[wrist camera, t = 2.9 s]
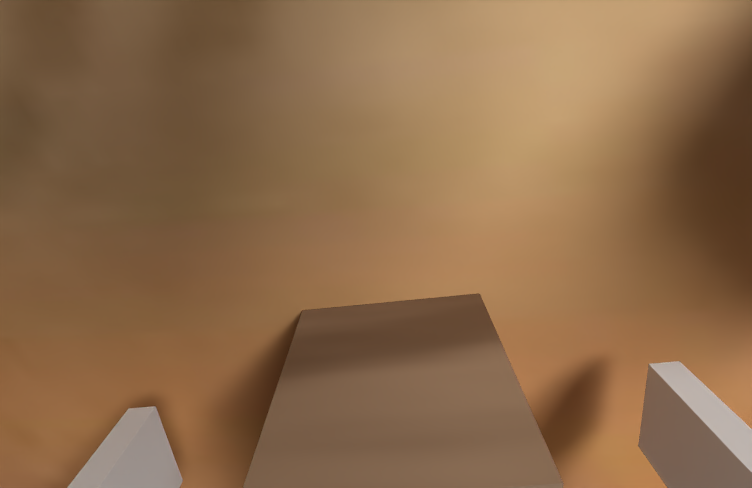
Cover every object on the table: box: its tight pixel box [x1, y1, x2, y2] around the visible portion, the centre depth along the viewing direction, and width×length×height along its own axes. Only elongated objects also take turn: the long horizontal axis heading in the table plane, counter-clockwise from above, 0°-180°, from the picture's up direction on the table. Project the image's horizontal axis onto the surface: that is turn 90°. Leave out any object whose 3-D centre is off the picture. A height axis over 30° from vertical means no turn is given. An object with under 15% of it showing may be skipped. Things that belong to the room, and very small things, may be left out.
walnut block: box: [243, 294, 563, 488], centre depth 10 cm, size 5×5×6 cm
